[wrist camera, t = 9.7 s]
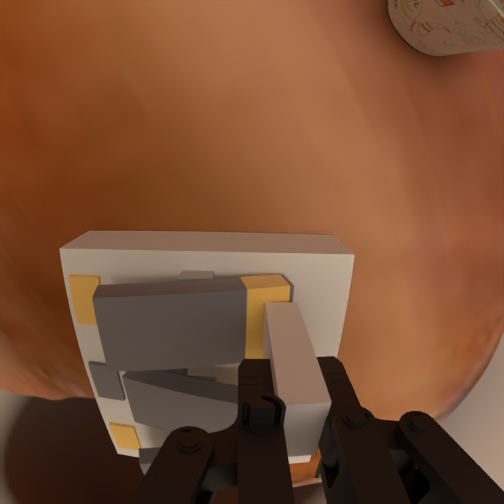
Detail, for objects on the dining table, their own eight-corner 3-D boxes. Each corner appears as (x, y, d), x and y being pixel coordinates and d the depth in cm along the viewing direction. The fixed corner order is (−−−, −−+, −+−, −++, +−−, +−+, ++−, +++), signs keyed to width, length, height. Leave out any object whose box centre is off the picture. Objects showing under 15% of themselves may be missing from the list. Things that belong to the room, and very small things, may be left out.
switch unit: (128, 422, 24) (115, 462, 19) (88, 230, 19) (50, 253, 14) (301, 428, 25) (311, 470, 20) (333, 234, 20) (361, 260, 15)
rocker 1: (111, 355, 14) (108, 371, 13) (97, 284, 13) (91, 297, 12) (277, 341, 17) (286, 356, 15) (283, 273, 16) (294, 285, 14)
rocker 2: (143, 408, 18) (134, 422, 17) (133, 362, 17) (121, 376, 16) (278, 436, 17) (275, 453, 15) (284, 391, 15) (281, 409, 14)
